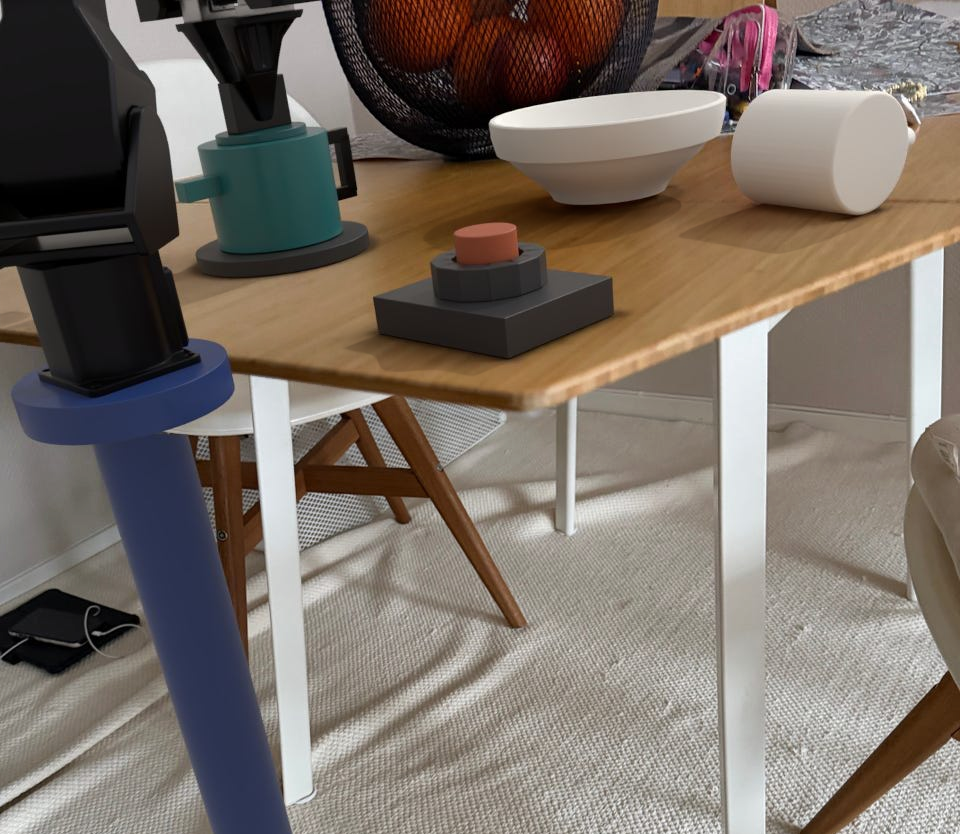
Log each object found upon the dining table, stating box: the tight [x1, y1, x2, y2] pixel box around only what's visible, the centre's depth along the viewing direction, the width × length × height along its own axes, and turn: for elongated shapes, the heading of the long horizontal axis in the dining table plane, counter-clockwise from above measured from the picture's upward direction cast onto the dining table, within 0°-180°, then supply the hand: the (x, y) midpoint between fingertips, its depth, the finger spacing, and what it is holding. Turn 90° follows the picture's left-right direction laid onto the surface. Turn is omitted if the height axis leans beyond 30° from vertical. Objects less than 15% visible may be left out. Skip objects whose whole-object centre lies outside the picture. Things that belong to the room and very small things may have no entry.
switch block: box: [372, 241, 615, 360], centre depth 64 cm, size 11×9×4 cm
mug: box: [730, 88, 916, 216], centre depth 81 cm, size 12×10×8 cm
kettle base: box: [195, 220, 371, 278], centre depth 89 cm, size 14×14×1 cm
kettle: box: [174, 73, 358, 254], centre depth 85 cm, size 16×10×12 cm, turn 135°
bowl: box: [488, 89, 727, 206], centre depth 92 cm, size 20×20×7 cm
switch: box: [453, 222, 519, 265], centre depth 63 cm, size 4×4×2 cm
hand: (258, 120), depth 84 cm, fingers closed on kettle, 2 cm apart
